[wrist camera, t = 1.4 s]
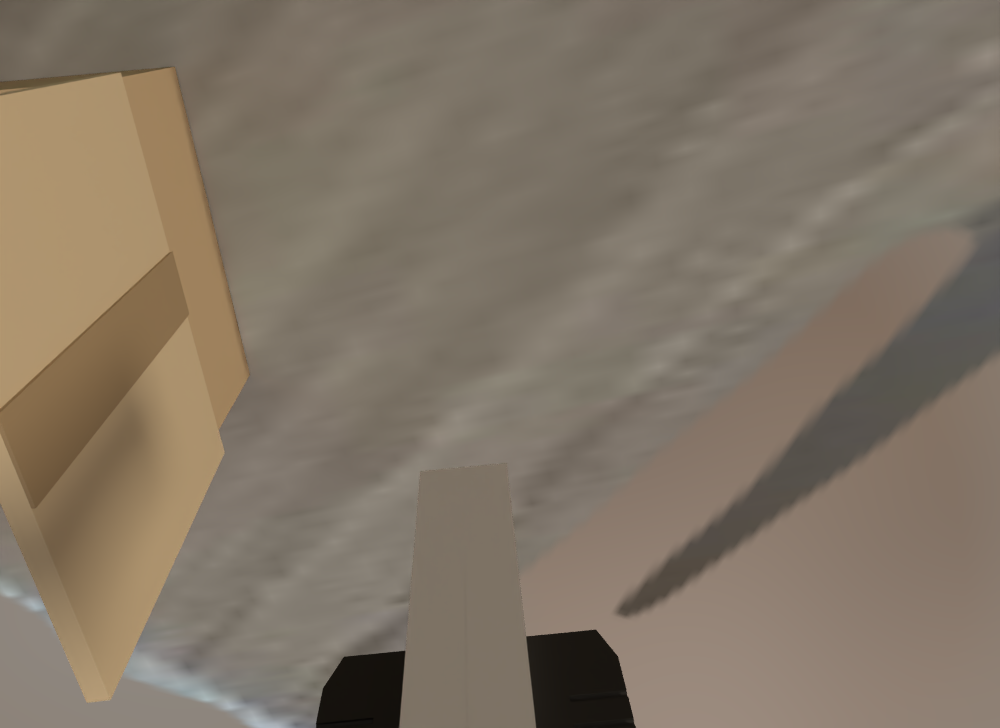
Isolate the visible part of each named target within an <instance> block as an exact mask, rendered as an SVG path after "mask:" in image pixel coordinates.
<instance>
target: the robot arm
mask: <svg viewBox="0 0 1000 728" xmlns="http://www.w3.org/2000/svg"><path fill="white" fill-rule="evenodd" d="M316 728H636V726H635V725H634V719H633V714H632V710H631V706H630V702H629V698H628V697H627V692H626V687H625V682H624V679H623V675H622V671H621V667H620V663H619V659H618V656H617V655H616V654H615V652H614V651H613V650H612V649H611V647H610V646H609V645H608V644H607V643H606V641H605V640H604V639H603V638H602V636H601V635H600V634H599V633H598V632H597V630H589V631H578V632H569V633H558V634H548V635H538V636H527V637H526V632H525V623H524V614H523V606H522V596H521V587H520V578H519V569H518V560H517V551H516V542H515V533H514V524H513V515H512V506H511V497H510V488H509V479H508V470H507V463H501V464H491V465H480V466H470V467H459V468H449V469H438V470H428V471H420V481H419V493H418V505H417V517H416V529H415V542H414V554H413V566H412V578H411V591H410V603H409V615H408V627H407V640H406V651H399V652H389V653H378V654H368V655H358V656H348V657H344V658H343V659H342V661H341V662H340V664H339V665H338V667H337V668H336V670H335V671H334V673H333V674H332V676H331V677H330V679H329V680H328V682H327V683H326V685H325V686H324V688H323V691H322V696H321V701H320V706H319V711H318V716H317V721H316Z"/></svg>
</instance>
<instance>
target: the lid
mask: <svg viewBox="0 0 1000 728" xmlns="http://www.w3.org/2000/svg"><path fill="white" fill-rule="evenodd" d="M188 315H189V310H188V307H187V303H186V299H185V295H184V292H183V288H182V284H181V281H180V277H179V273H178V270H177V266H176V262H175V259H174V255H173V251H172V252H170V251H169V247H168V244H167V240H166V236H165V233H164V229H163V225H162V222H161V218H160V214H159V211H158V207H157V203H156V200H155V196H154V192H153V189H152V185H151V181H150V178H149V174H148V170H147V167H146V163H145V159H144V156H143V152H142V148H141V145H140V141H139V137H138V134H137V130H136V126H135V123H134V119H133V115H132V112H131V108H130V104H129V101H128V97H127V93H126V90H125V86H124V82H123V79H122V75H121V73H111V74H101V75H95V76H90V77H85V78H79V79H74V80H69V81H63V82H58V83H52V84H47V85H42V86H36V87H31V88H26V89H20V90H15V91H10V92H4V93H0V504H1V506H2V508H3V510H4V513H5V515H6V517H7V520H8V522H9V524H10V527H11V529H12V531H13V534H14V536H15V538H16V540H17V543H18V545H19V547H20V550H21V552H22V554H23V557H24V559H25V561H26V563H27V566H28V568H29V570H30V573H31V575H32V577H33V580H34V582H35V584H36V587H37V589H38V591H39V593H40V596H41V598H42V600H43V603H44V605H45V607H46V610H47V612H48V614H49V616H50V619H51V621H52V623H53V626H54V628H55V630H56V633H57V635H58V637H59V640H60V642H61V644H62V646H63V649H64V651H65V653H66V655H67V658H68V660H69V663H70V665H71V667H72V669H73V672H74V674H75V676H76V679H77V681H78V683H79V686H80V688H81V690H82V693H83V695H84V697H85V699H86V702H87V703H90V702H97V701H105V700H111V698H112V696H113V694H114V691H115V689H116V687H117V685H118V683H119V680H120V678H121V676H122V674H123V672H124V670H125V668H126V665H127V663H128V661H129V659H130V657H131V655H132V652H133V650H134V648H135V646H136V644H137V642H138V639H139V637H140V635H141V633H142V631H143V629H144V626H145V624H146V622H147V620H148V618H149V616H150V613H151V611H152V609H153V607H154V605H155V602H156V600H157V598H158V596H159V594H160V592H161V589H162V587H163V585H164V583H165V581H166V579H167V576H168V574H169V572H170V570H171V568H172V566H173V563H174V561H175V559H176V557H177V555H178V553H179V550H180V548H181V546H182V544H183V542H184V540H185V537H186V535H187V533H188V531H189V529H190V527H191V524H192V522H193V520H194V518H195V516H196V514H197V511H198V509H199V507H200V505H201V503H202V501H203V498H204V496H205V494H206V492H207V490H208V488H209V485H210V483H211V481H212V479H213V477H214V474H215V472H216V470H217V468H218V466H219V464H220V461H221V459H222V457H223V455H224V453H225V452H224V449H223V445H222V441H221V438H220V434H219V430H218V427H217V423H216V419H215V416H214V412H213V408H212V405H211V401H210V397H209V394H208V390H207V386H206V383H205V379H204V375H203V372H202V368H201V365H200V361H199V357H198V354H197V350H196V346H195V343H194V339H193V335H192V332H191V328H190V324H189V321H188Z"/></svg>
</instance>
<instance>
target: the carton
mask: <svg viewBox="0 0 1000 728" xmlns="http://www.w3.org/2000/svg"><path fill="white" fill-rule="evenodd" d="M111 73H121V75H122V79H123V82H124V86H125V90H126V93H127V97H128V101H129V104H130V108H131V112H132V115H133V119H134V123H135V126H136V130H137V134H138V137H139V141H140V145H141V148H142V152H143V156H144V159H145V163H146V167H147V170H148V174H149V178H150V181H151V185H152V189H153V192H154V196H155V200H156V203H157V207H158V211H159V214H160V218H161V222H162V225H163V229H164V233H165V236H166V240H167V244H168V247H169V251H170V252H172V251H173V255H174V259H175V262H176V266H177V270H178V273H179V277H180V281H181V284H182V288H183V292H184V295H185V299H186V303H187V307H188V310H189V315H188V321H189V324H190V328H191V332H192V335H193V339H194V343H195V346H196V350H197V354H198V357H199V361H200V365H201V368H202V372H203V375H204V379H205V383H206V386H207V390H208V394H209V397H210V401H211V405H212V408H213V412H214V416H215V419H216V423H217V427H218V430H219V428H220V427H221V425H222V423H223V421H224V420H225V418H226V416H227V414H228V412H229V411H230V409H231V407H232V405H233V404H234V402H235V400H236V398H237V397H238V395H239V393H240V391H241V390H242V388H243V386H244V384H245V383H246V381H247V379H248V377H249V375H250V373H249V369H248V365H247V361H246V357H245V353H244V348H243V344H242V340H241V336H240V332H239V328H238V324H237V320H236V316H235V312H234V307H233V303H232V299H231V295H230V291H229V287H228V283H227V279H226V275H225V271H224V266H223V262H222V258H221V254H220V250H219V246H218V242H217V238H216V234H215V230H214V225H213V221H212V217H211V213H210V209H209V205H208V201H207V197H206V193H205V189H204V184H203V180H202V176H201V172H200V168H199V164H198V160H197V156H196V152H195V148H194V143H193V139H192V135H191V131H190V127H189V123H188V119H187V115H186V111H185V107H184V102H183V98H182V94H181V90H180V86H179V82H178V78H177V74H176V70H175V67H165V68H154V69H142V70H131V71H120V72H108V73H97V74H86V75H74V76H63V77H52V78H40V79H29V80H18V81H6V82H0V93H4V92H10V91H15V90H20V89H26V88H31V87H36V86H42V85H47V84H52V83H58V82H63V81H69V80H74V79H79V78H85V77H90V76H95V75H101V74H111Z"/></svg>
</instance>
